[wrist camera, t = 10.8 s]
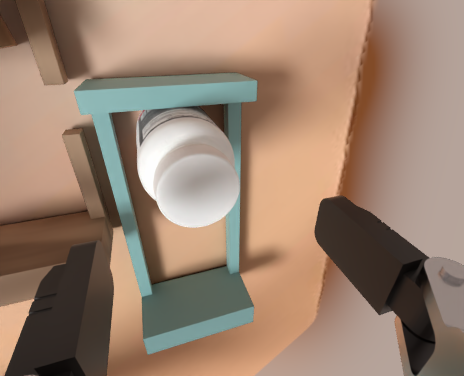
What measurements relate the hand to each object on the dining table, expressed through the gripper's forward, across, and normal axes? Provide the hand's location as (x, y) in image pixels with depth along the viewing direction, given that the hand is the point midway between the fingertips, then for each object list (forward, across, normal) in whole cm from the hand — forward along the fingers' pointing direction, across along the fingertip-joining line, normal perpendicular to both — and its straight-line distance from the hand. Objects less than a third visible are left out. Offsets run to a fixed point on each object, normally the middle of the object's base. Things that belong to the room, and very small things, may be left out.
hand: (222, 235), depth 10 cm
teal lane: (+13, 0, +7) cm, 15 cm away
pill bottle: (+13, 0, 0) cm, 13 cm away
